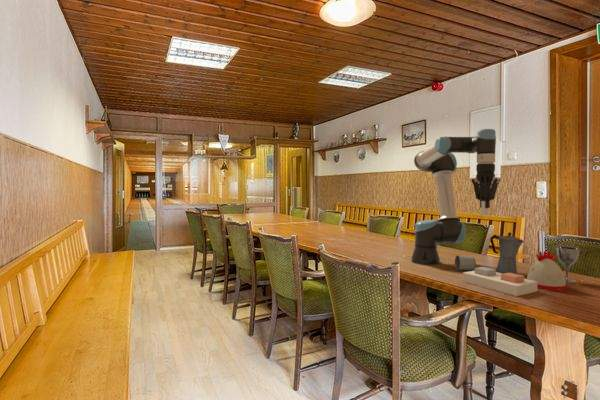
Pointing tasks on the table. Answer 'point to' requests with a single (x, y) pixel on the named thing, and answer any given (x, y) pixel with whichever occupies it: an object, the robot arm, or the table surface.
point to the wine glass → (567, 258)
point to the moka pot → (507, 252)
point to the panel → (500, 283)
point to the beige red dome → (547, 273)
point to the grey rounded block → (485, 271)
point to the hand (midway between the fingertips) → (484, 215)
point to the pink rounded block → (512, 277)
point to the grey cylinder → (465, 262)
